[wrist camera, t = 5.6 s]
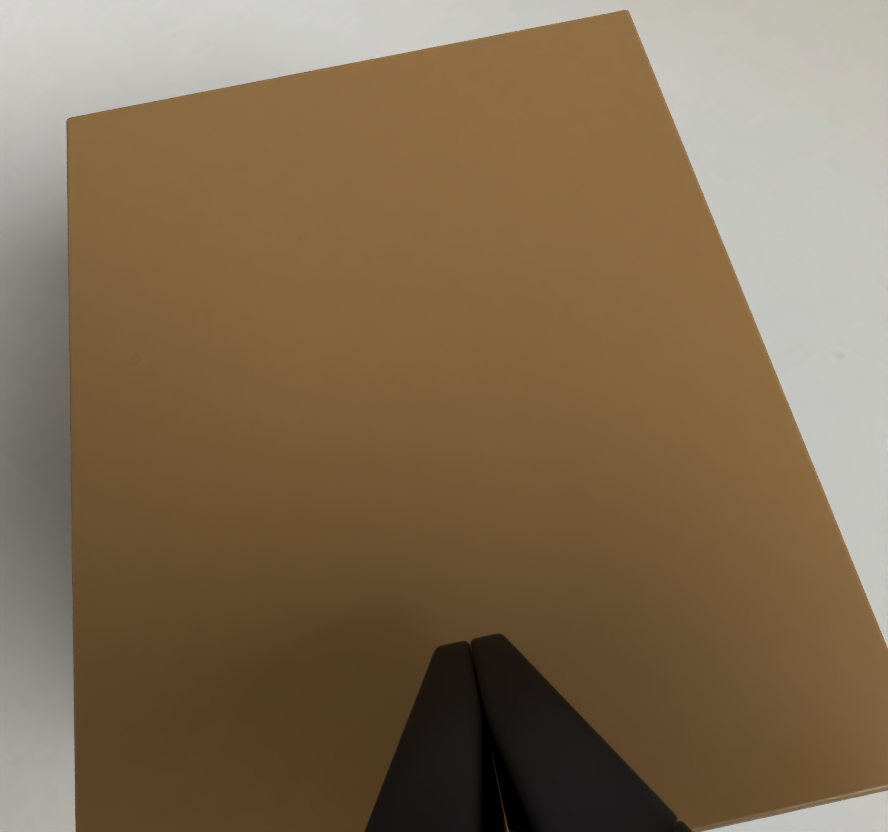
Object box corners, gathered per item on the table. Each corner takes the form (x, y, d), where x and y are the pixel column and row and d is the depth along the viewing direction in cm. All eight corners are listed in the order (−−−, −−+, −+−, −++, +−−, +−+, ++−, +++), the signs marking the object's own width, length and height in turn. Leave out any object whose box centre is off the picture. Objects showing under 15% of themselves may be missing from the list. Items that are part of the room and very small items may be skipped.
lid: (85, 144, 15) (64, 116, 15) (622, 39, 16) (629, 7, 15) (105, 951, 10) (73, 972, 9) (910, 773, 10) (943, 779, 10)
